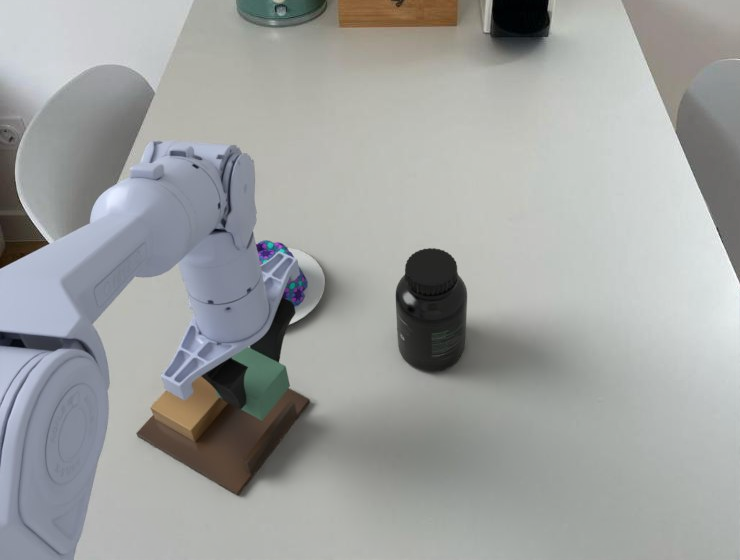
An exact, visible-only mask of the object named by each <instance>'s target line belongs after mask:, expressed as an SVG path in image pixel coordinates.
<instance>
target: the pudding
mask: <svg viewBox="0 0 740 560" xmlns="http://www.w3.org/2000/svg"><path fill="white" fill-rule="evenodd" d="M256 247H257V251H258V256H259V260H260V265H262V264H263V263H265V262H267V261H268V260H269V259H271V258H272V257H273V256H274V255H275V254H276V253H277V252H278V251H280V252H282V253H285V254H287V255H289V256H291V257H294V258H296V259H297V260H298V266H299V272H300V275H299V276H298V277H297V278H296V279H295V280H294V281H289V280H288V282H287V285H286V287H285V290H284V293H283V295H282V297H283V298H285V299H287V300H289V301H291V302H292V303H293V304H294V307H295V312H296V313H295V315H294V316H293V318H292V319H291V321H290V323H289V325H288V326H290V325H291V324H295V323H296V322H298V321H300V320H302V319H303V318H305V317H306V316H307V315H309V313H311V312H312V311H313V310H314V309H315V308H316V306H317V305H318V304H319V303H320V300H321V299H322V296H323V294H324V291H325V287H326V280H325V273H324V270H323V268H322V267H321V266H320V264H319V262H317V260H316V259H315V258H314V257H312V256H311V255H309V254H308V253H306V252H304V251H302V250H300V249H296V248H293V247H288V246H286V244H284V243H283V242H279V241H277V242H274V241H271V240H268V239H267V240H266V239H265V240H261V241H259V242H258V243H256Z"/></svg>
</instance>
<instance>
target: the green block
mask: <svg viewBox="0 0 740 560" xmlns="http://www.w3.org/2000/svg"><path fill="white" fill-rule="evenodd" d="M231 358H232V359H234V360H236V361H238V362H239V363H241V364H243V365H245V366H247V367H248V368H247V370H246V373H245V376H244V388H245V393H246V404H245V405H244V407H243V408H242V410H243V411H245V412H247V413H249V414H251V415H253V416H254V417H256V418H258V419H260V420H263V419H264V418H265V417H266V415H267V414H268V413H269V412H270V410H271V409H272V408H273V407H274V405H275V404H276V403H277V402H278V401H279V399H280V398H281V397H282V396H283V394H284V393H285V392H286V391H287V389H288V388H289V389H290V387H291V385H290V384H291V383H290V380H289V379H290V378H289V375H288V369H287V366H286V365H285V364H283V363H280V361H279V362H277V361H275V360H273V359H271V358H269V357H267V356H265V355H263V354H261V353H259V352H257V351H255V350H253V349H251V348H250V346H249V347H247V348H245V349H244V350H242V351H241V352H239V353H237V354H236V355H234V356H232V357H231ZM215 391H216V390H215ZM216 395H217V396H218V397H220V398H221V396H220V395H219V393H218V392H217V391H216ZM221 399H222V398H221Z"/></svg>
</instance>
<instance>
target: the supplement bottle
mask: <svg viewBox="0 0 740 560" xmlns="http://www.w3.org/2000/svg"><path fill="white" fill-rule="evenodd" d="M467 312H468V289H467V286H466V284H465V281H464V280H463V279H462V277H461V276H460V275H459V273H458V265H457V261H456V260H455V258H454V257H453V256H452V254H450V253H449V252H448V251H445V250H443V249H440V248H435V247H429V248H428V247H427V248H423V249H419V250H416V251H415V252H414V253H412V254H411V255H410V256H409V257H408V259H407V260H406V263H405V265H404V274H403V276H402V277H401V278H400V280H399V281H398V283H397V285H396V289H395V314H396V333H397V334H396V335H397V347H398V351H399V354H400V356H401V357H402V359H403V360H404V361H405V362H406V363H407V364H408V365H409V366H411V367H412V368H414V369H416V370H419V371H421V372H427V373H436V372H443V371H446V370H448V369H450V368H452V367H453V366H454V365H456V364H457V363H458V362H459V361H460V360H461V359H462V357H463V355H464V353H465V349H466V341H467V316H468V315H467Z"/></svg>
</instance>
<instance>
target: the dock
mask: <svg viewBox="0 0 740 560" xmlns="http://www.w3.org/2000/svg"><path fill="white" fill-rule="evenodd" d="M192 387H193V390H194V392H193V393H192V394H191V396H190V397H189V398H188V399H187V400H186V401H184V400H183V399H181V398H179V397H177V396H175V395H173V394H172V393H170V392H168V391H167V390H166V389H165V391H164V392H163V393H162V394H161V395H160V396H159V397H158V398H157V399H156V400H155V401H154V403H153V404H152V405H151V406H150V410H151V412H152V416H151V417H150V418H149V419H148V420H147V421H146V422H145V423H143V425H142V426H141V427H140V428H139V430H137V432H136V433H135V434H136V436H137V437H138V438H139V439H141V440H142V441H144V442H146V443H147V444H149V445H151V446H152V447H154V448H156V449H157V450H159V451H161V452H162V453H164V454H166V455H167V456H169V457H171V458H173V459H175V460H176V461H178V462H179V463H181V464H183V465H185V466H186V467H188V468H190V469H191V470H193V471H194V472H196V473H198V474H200V475H201V476H203V477H205V478H206V479H208V480H210V481H212V482H213V483H215V484H217V485H218V486H219V487H221V488H223V489H225V490H227V491H228V492H229V493H231V494H233V495H235V496H237V497H239V496H240V494H241V493H242V492H243V491H244V490H245V488H246V487H247V486H248V484H249V483H250V481H252V479H253V477H254V476H255V475H256V474H257V472H258V471H259V470H260V468H261V467H262V466H263V464H264V463H265V462H266V461H267V459H268V458H269V456H270V455H271V454H272V453H273V451H274V450H275V449H276V448H277V446H278V445H279V444H280V443H281V441H282V440H283V438H284V437H285V436H286V435H287V434H288V432H289V431H290V430H291V428H292V427H293V426H294V424H295V423H296V421H297V420H298V419H299V418H300V416H301V415H302V414H303V412H304V411H305V410H306V408H308V406H309V405H310V403H311V400H310V398H308V397H307V396H305V395H302V394H301V393H298V392H296V391H295V390H293V389H291V388H290V387H289V388H288V389H287V391H286V392H285V393H284V394H283V396H282V397H281V398H280V399H279V401H278V402H277V403H276V404H275V405H274V407H273V408H272V409H271V410H270V412H269V413H268V414H267V415H266V417H265V418H264V419H263V420H260V419H258V418H256V417H254V416H253V415H251V414H249V413H247V412H245V411H243V410H242V409H238V408H236V407H235V406H233V405H231V404H229V403H227V402H225V401H224V400H223V399H221V398H220V397H218V396H217V395H216V391H215V389H214V388H213V386H212V385H211V384H210V383H208V382H207V381H206V380H205V379H204V378H202V377H201V376H200V377H199V378H197V379H196V380H194V382H193V383H192Z"/></svg>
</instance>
